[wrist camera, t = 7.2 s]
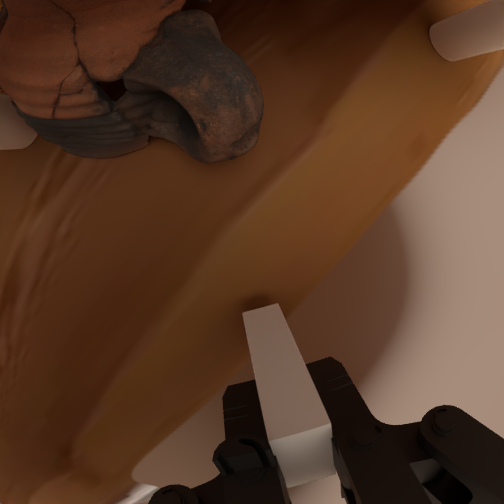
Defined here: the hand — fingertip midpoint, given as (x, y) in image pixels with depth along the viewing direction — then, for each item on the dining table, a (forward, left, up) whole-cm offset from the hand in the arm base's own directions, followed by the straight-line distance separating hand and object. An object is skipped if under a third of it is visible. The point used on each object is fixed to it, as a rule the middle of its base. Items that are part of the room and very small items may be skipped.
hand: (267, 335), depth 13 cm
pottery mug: (-2, +12, -2) cm, 13 cm away
